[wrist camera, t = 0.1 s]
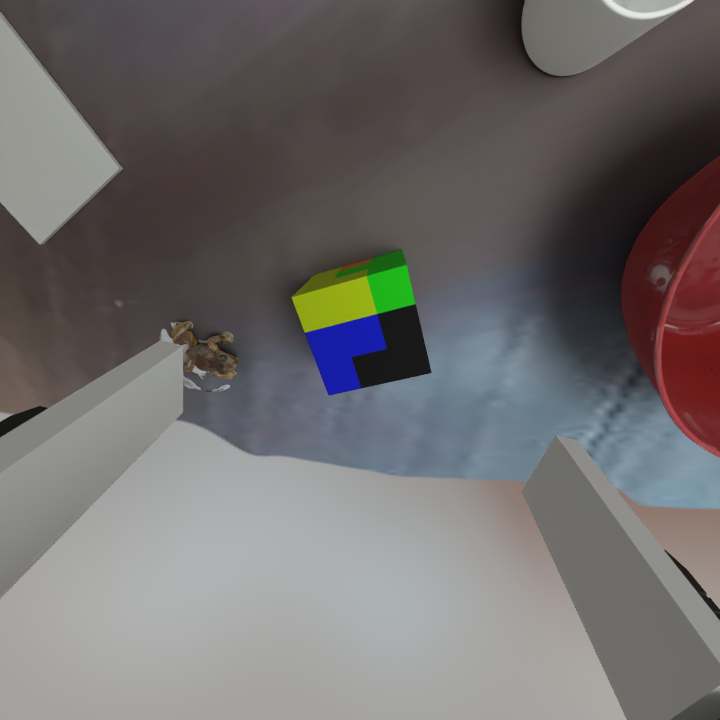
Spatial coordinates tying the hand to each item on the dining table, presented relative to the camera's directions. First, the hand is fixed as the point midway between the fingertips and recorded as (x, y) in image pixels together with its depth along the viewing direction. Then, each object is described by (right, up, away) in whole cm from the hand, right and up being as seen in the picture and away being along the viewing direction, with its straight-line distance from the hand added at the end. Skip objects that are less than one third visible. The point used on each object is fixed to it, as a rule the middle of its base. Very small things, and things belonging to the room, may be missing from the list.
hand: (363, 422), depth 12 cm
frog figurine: (-20, +4, +32) cm, 38 cm away
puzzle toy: (+1, +9, +27) cm, 29 cm away
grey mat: (-35, +25, +22) cm, 48 cm away
